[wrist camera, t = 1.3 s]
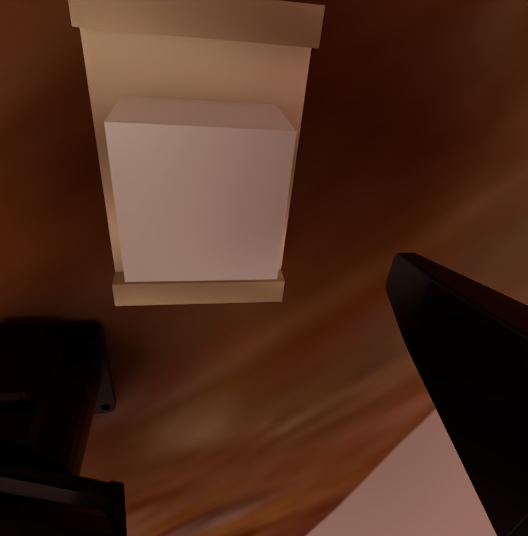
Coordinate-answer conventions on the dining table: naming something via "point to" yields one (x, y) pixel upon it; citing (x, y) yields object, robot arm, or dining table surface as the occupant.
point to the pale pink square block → (199, 187)
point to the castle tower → (195, 92)
